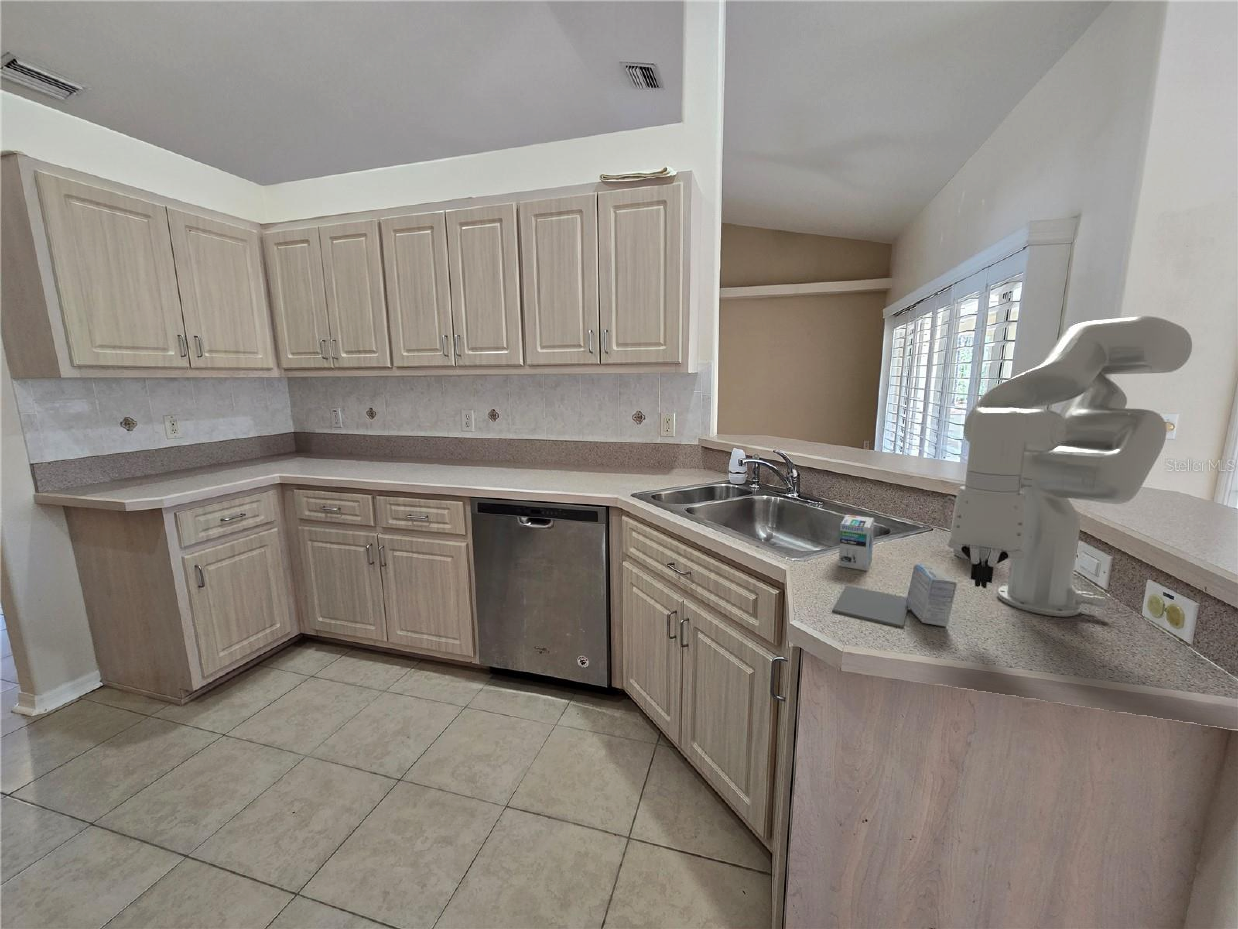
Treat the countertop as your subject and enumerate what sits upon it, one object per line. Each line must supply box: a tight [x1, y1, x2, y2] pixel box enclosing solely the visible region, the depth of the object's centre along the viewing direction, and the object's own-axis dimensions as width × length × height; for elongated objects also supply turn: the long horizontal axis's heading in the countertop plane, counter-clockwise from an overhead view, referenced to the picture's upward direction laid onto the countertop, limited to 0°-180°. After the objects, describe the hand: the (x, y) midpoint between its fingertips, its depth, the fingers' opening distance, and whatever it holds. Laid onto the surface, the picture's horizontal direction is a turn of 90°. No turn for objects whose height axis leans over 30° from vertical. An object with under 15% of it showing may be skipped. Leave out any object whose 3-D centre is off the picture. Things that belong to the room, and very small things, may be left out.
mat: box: [831, 584, 909, 629], centre depth 97 cm, size 12×14×1 cm
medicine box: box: [906, 564, 958, 628], centre depth 91 cm, size 8×4×9 cm, turn 169°
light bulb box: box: [838, 514, 875, 572], centre depth 121 cm, size 11×7×11 cm, turn 148°
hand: (980, 584), depth 86 cm, fingers closed
